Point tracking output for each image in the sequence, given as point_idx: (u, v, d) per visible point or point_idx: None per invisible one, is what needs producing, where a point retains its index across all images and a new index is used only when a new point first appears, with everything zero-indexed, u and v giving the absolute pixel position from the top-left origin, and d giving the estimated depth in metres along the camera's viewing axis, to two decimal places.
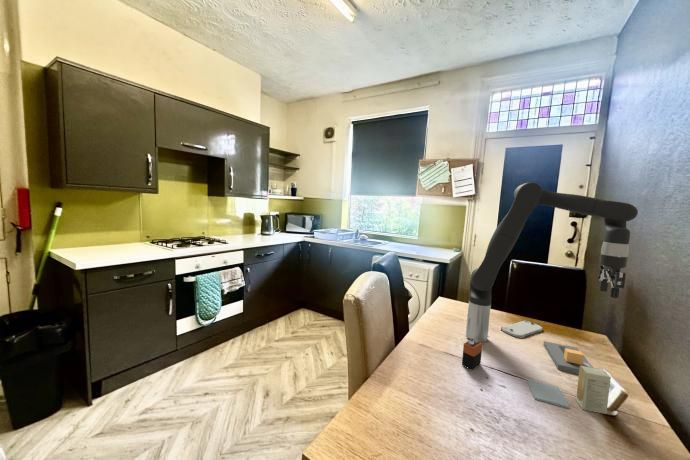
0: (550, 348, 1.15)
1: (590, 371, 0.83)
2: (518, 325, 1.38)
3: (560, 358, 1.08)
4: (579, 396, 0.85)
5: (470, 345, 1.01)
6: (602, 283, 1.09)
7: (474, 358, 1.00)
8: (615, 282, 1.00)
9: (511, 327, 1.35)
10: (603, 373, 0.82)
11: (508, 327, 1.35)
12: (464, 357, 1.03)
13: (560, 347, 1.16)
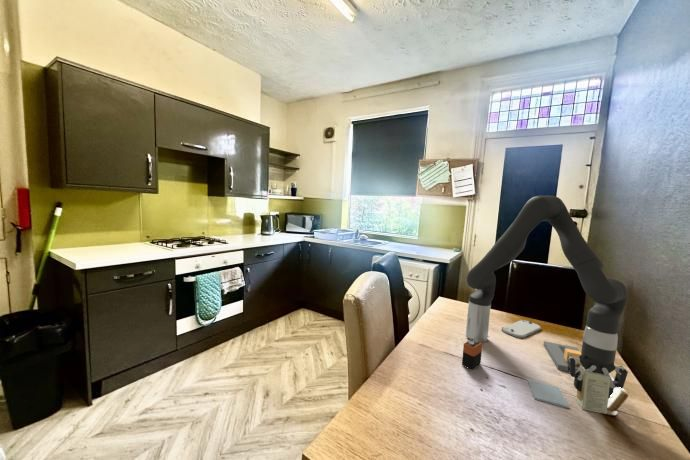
0: (550, 348, 1.15)
1: None
2: (517, 325, 1.38)
3: (560, 358, 1.08)
4: (579, 396, 0.85)
5: (470, 345, 1.01)
6: None
7: (474, 358, 1.00)
8: (622, 382, 0.80)
9: (511, 327, 1.35)
10: None
11: (508, 327, 1.35)
12: (464, 357, 1.03)
13: (560, 347, 1.16)
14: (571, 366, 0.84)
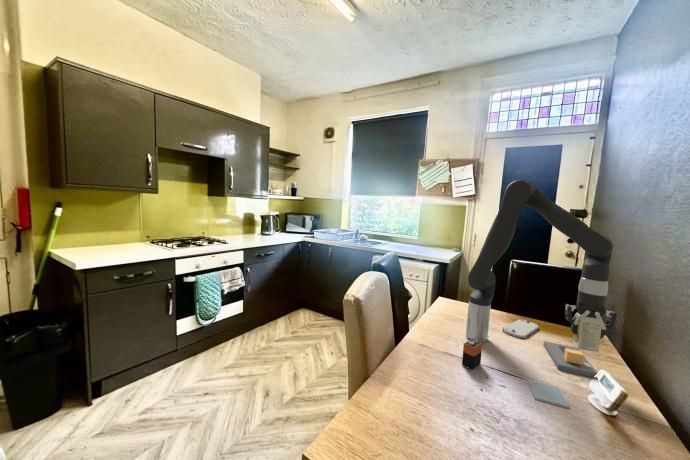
0: (550, 348, 1.15)
1: None
2: (516, 325, 1.38)
3: (560, 358, 1.08)
4: (575, 339, 0.98)
5: (470, 345, 1.01)
6: None
7: (474, 358, 1.00)
8: (612, 324, 0.92)
9: (511, 327, 1.35)
10: None
11: (509, 328, 1.34)
12: (464, 357, 1.03)
13: (560, 347, 1.16)
14: (568, 313, 0.97)
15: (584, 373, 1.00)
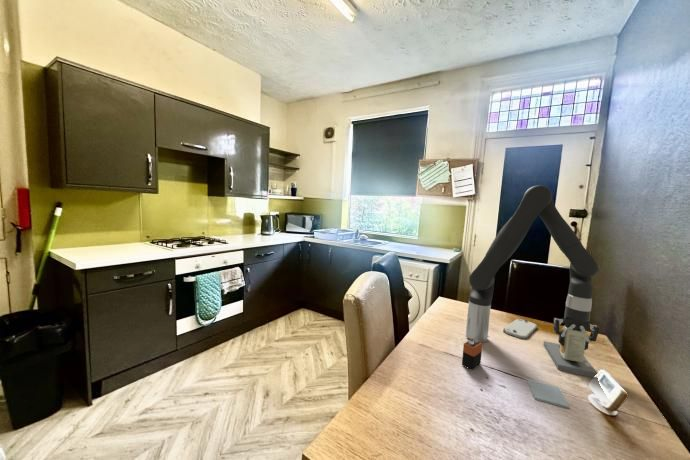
0: (550, 348, 1.15)
1: None
2: (516, 325, 1.38)
3: (560, 358, 1.08)
4: (562, 349, 1.08)
5: (470, 345, 1.01)
6: None
7: (474, 358, 1.00)
8: (595, 336, 1.02)
9: (512, 328, 1.35)
10: None
11: (509, 328, 1.34)
12: (464, 357, 1.03)
13: None
14: (556, 326, 1.07)
15: (584, 373, 1.00)
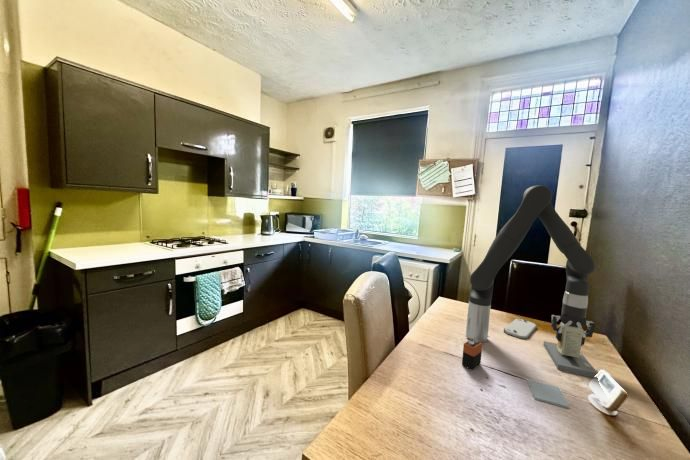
0: (550, 348, 1.15)
1: None
2: (515, 325, 1.39)
3: (560, 358, 1.08)
4: (559, 345, 1.11)
5: (470, 345, 1.01)
6: None
7: (474, 358, 1.00)
8: (591, 332, 1.05)
9: (512, 328, 1.34)
10: None
11: (510, 328, 1.34)
12: (464, 357, 1.03)
13: None
14: (553, 322, 1.10)
15: (584, 373, 1.00)
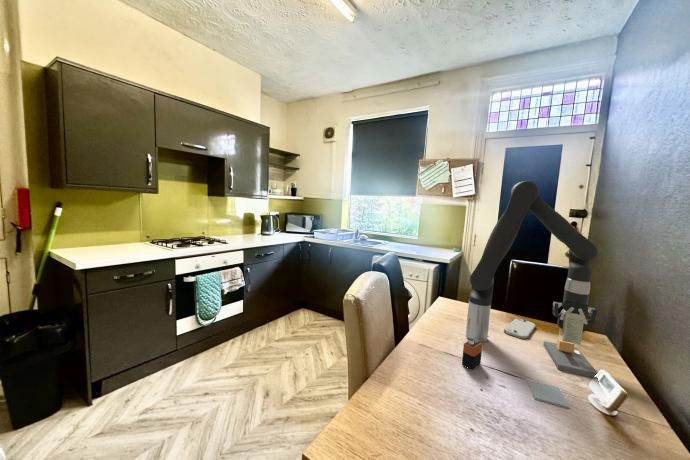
0: (550, 348, 1.15)
1: None
2: (515, 325, 1.39)
3: (560, 358, 1.08)
4: (561, 332, 1.11)
5: (470, 345, 1.01)
6: None
7: (474, 358, 1.00)
8: (593, 319, 1.05)
9: (512, 328, 1.34)
10: None
11: (510, 328, 1.34)
12: (464, 357, 1.03)
13: None
14: (555, 309, 1.10)
15: (584, 373, 1.00)
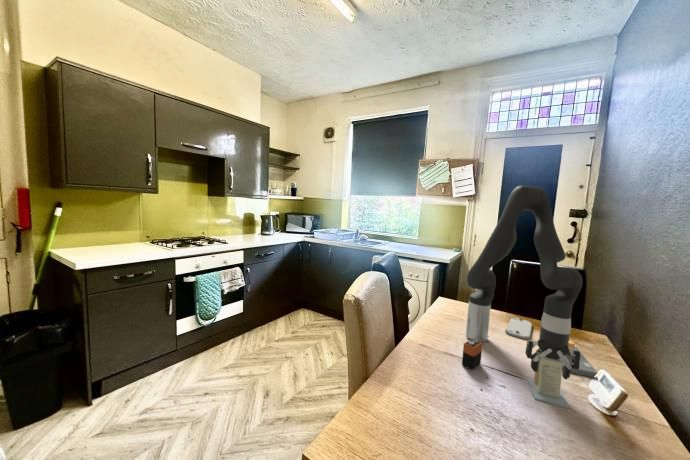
0: None
1: (544, 357, 0.88)
2: (514, 324, 1.39)
3: (560, 358, 1.08)
4: (535, 381, 0.91)
5: (470, 345, 1.01)
6: None
7: (474, 358, 1.00)
8: (577, 363, 0.84)
9: (513, 328, 1.34)
10: (557, 359, 0.87)
11: (511, 329, 1.33)
12: (464, 357, 1.03)
13: None
14: (529, 348, 0.90)
15: (584, 373, 1.00)
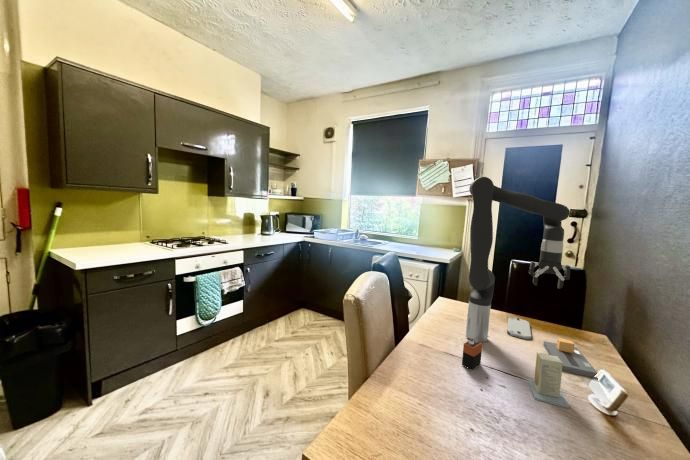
0: (550, 348, 1.15)
1: (544, 357, 0.88)
2: (513, 324, 1.39)
3: (560, 358, 1.08)
4: (535, 381, 0.91)
5: (470, 345, 1.01)
6: None
7: (474, 358, 1.00)
8: (568, 275, 1.13)
9: (513, 329, 1.34)
10: (557, 359, 0.87)
11: (512, 329, 1.33)
12: (464, 357, 1.03)
13: None
14: (531, 267, 1.18)
15: (584, 373, 1.00)
